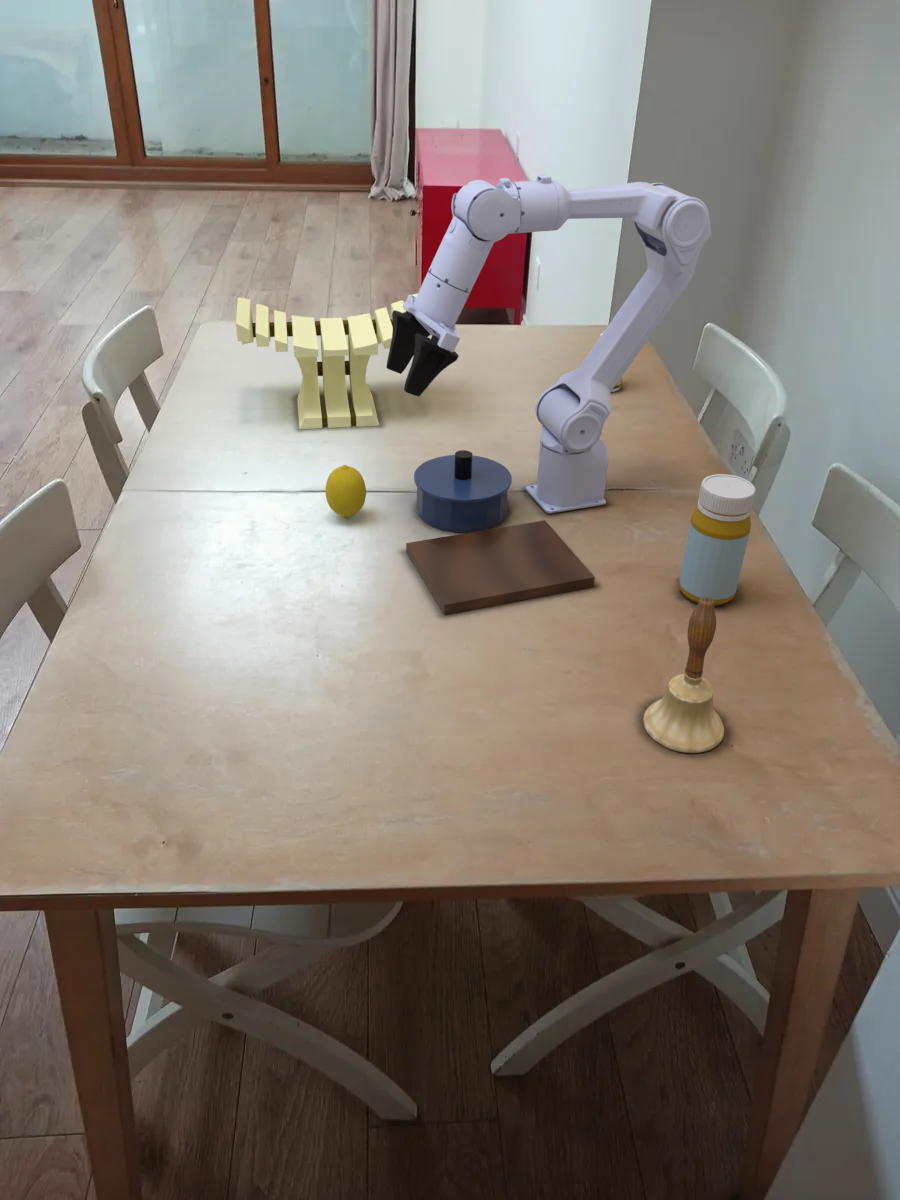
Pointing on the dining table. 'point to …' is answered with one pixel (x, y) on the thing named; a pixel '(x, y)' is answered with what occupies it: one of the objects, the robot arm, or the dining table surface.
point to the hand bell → (689, 695)
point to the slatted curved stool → (325, 359)
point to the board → (497, 566)
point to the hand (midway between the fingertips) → (402, 381)
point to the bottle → (717, 539)
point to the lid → (462, 478)
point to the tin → (461, 513)
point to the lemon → (345, 491)
